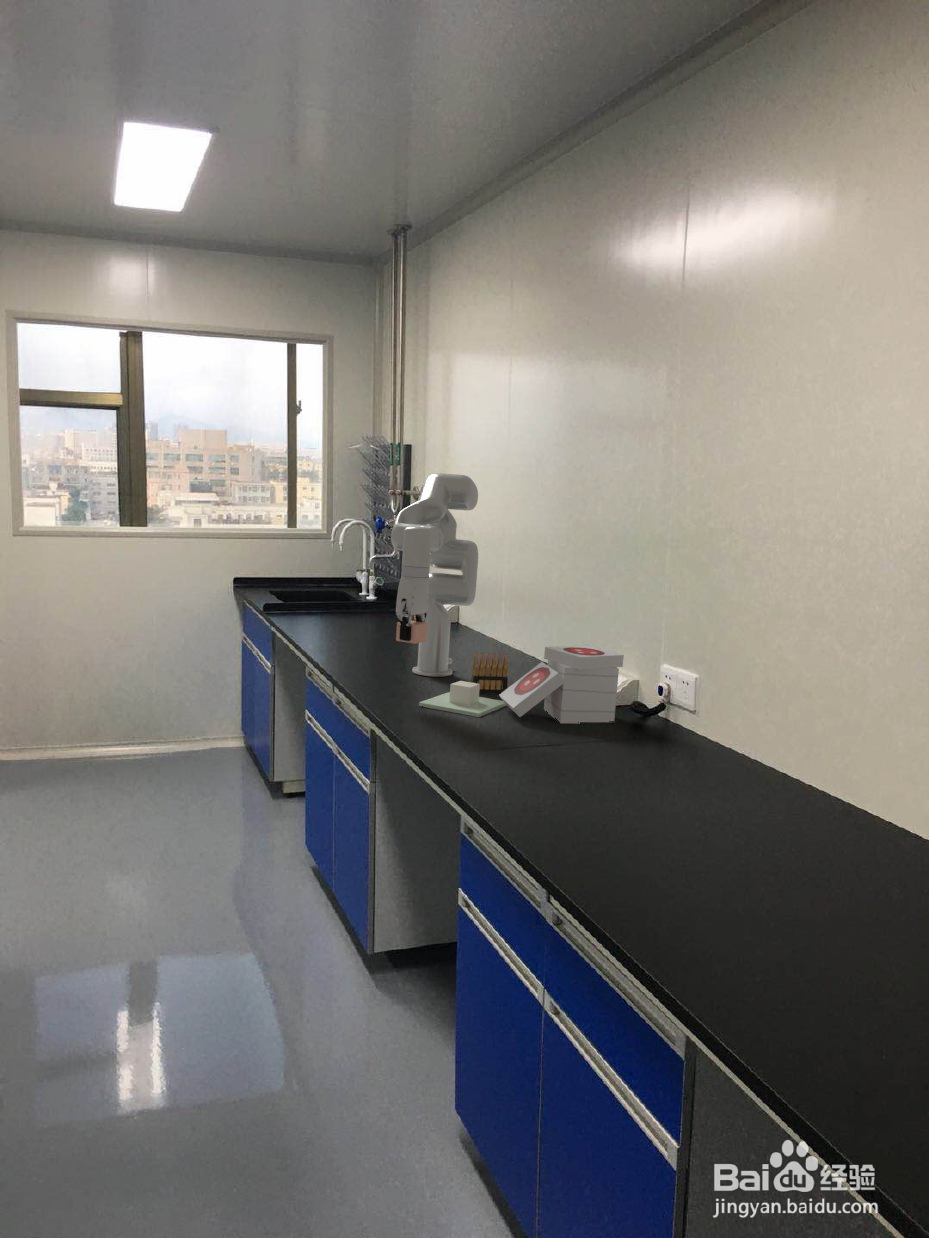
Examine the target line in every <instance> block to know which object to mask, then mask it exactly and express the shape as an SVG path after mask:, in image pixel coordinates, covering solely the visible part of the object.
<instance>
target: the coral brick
mask: <svg viewBox="0 0 929 1238" xmlns="http://www.w3.org/2000/svg"><path fill="white" fill-rule="evenodd" d="M410 626H411V640H410V641H405V640H400V639H399V638H400V625H399V621H397V622H396V631H395V632H396V633H395V635H396V636H395V641H397V642H401V643H402V642H403V643H408V644H414V645H415V644H419V643H420V642H425V641H426V638H427V623H424V622H417V621H415V620H411V623H410Z"/></svg>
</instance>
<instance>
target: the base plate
mask: <svg viewBox="0 0 929 1238" xmlns="http://www.w3.org/2000/svg"><path fill="white" fill-rule="evenodd" d="M449 699H450V691H448V692H445V693H442V694H439V695H436V696H433V697H431V698H428V699H425V700H422V701H419V702H418V707H422V706H423V707H424V708H428V709H432V710H437V711H444V712H449V713H455V714H461V715H466V716H470V717H471V716H472V717H476V718H480V717H482V716H485V715H488V714H490V713H492V711H493V712H496V711H497V710H499V709H502V708H504V707H508V706H507V705H506V704H505V703H504V701H503V700H502V699H501V700H500V699H493V698H489V697H483V696H479V702H477V703H475V704H472V705H470V706H468V705H463V704H457V703H451V702H449ZM423 707H422V708H423Z"/></svg>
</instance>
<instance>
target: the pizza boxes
mask: <svg viewBox="0 0 929 1238" xmlns="http://www.w3.org/2000/svg"><path fill="white" fill-rule="evenodd" d="M543 656H544V657H543V659H544V660H547V664H546V663H544V662H543V661H541V662H539V663H538V664H537V665H536V666H534V667H533V668H532V669H530V670H529V671H528V672H527V673H525V674H524V675H523V676H521V677H520V678H518V680H517V681H515V682H514V683H511V685H510V686H508V687H507V689H506V690H505V691H503V692H502V693H501V694H498V696H499V698H500V699H501V701H504V703H505V704H506V705H507V706H506V707H508V708H510V709H511V711H512V712H514V713H515V714H516V715H517V716H518V717H519V718H521V717H522V716H525V714H526V713H527V712H529V711H530V710H532V708H534V707H535V706H536V705H538V704H539V703H541V702H543V701H542V700H544V705H543V710H544V711H545V712H546V711H547V712H548V713H547V712H546V713H547V714H548V715H550V716H551V717H552V718H553V719H555V718H556V719H557V720H558V721H559V722H560V724H580V722H609V721H614V722H615V719H616V718H615V717H616V716H615V714H616V705H617V694H618V693H617V692H618V682H619V671H620V668H623V667H624V657H625V656H624V654H622V653H617V652H615V651H610V650H607V649H604V648H599V647H596V646H592V645H589V644H583V645H582V644H581V645H559V646H557V645H556V646H545V647H544V654H543ZM556 719H555V720H556ZM557 720H556V721H557ZM558 721H557V722H558ZM559 722H558V723H559ZM578 722H579V723H578Z"/></svg>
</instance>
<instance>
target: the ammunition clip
mask: <svg viewBox="0 0 929 1238" xmlns="http://www.w3.org/2000/svg"><path fill="white" fill-rule="evenodd" d="M497 658H498V659H497ZM473 659H474V660H473V665H472V666H473V667H472V675H471V680H470V682H471V683H477V684H480V689H479V694H488V693H502V692H503V691H505V690H506V689H507V688H508V684H509V683H508V676H509V675H508V674H509V665H508V664H509V657H508V653H507V652H506V653H505V654H504V657H503V655H502V653H501V652H500V653H499V655H498V657H497V654H496V652H493V655H492V659H491V654H490V652H488V653H487V655H486V660H485V653H484V652H481V655H480V660H479V653H478V651H476V652H475V655H474V658H473ZM485 661H486V662H485Z"/></svg>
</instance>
